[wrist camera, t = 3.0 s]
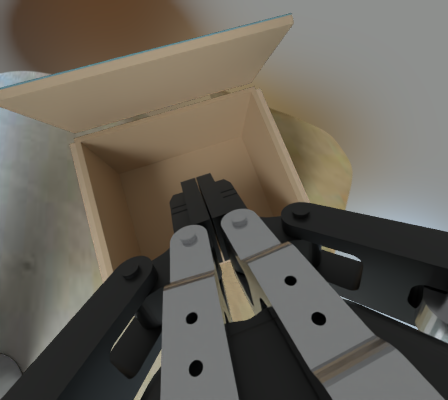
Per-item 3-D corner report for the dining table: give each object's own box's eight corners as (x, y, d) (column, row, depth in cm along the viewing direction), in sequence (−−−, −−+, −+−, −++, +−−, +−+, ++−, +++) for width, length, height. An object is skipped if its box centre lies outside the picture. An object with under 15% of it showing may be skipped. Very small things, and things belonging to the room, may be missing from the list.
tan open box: (288, 235, 38) (321, 227, 26) (143, 289, 36) (108, 306, 24) (246, 132, 42) (258, 85, 30) (111, 174, 39) (68, 140, 27)
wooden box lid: (293, 23, 18) (291, 12, 18) (-11, 103, 15) (-16, 92, 15) (250, 82, 30) (249, 77, 29) (74, 133, 27) (72, 127, 27)
